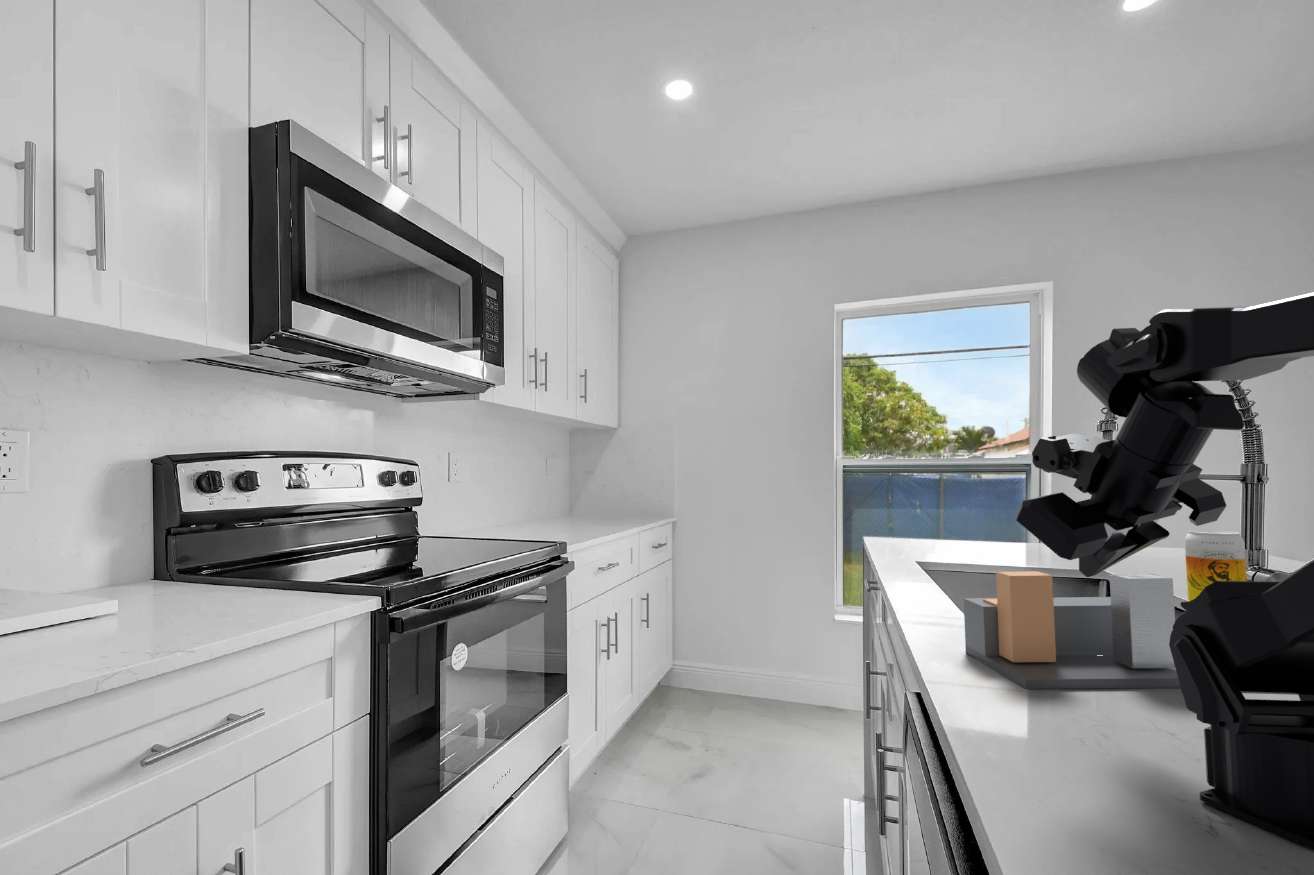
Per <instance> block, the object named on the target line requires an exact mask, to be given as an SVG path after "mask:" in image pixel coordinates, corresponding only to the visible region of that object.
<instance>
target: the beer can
mask: <svg viewBox="0 0 1314 875" xmlns="http://www.w3.org/2000/svg"><path fill="white" fill-rule="evenodd" d="M1245 546H1246V544H1245V540H1244V539H1243V538H1242V536H1241V533H1240V532H1237V531H1229V530H1215V529H1214V530H1213V529H1212V530H1210V529H1191V530H1187V534H1186V535H1185V538H1184V552H1185V553H1184V554H1185V570H1186V571H1185V572H1186V587H1187V589H1186V590H1187V602H1189V601H1191V600H1193V599H1195V598H1196V597H1197V596H1198V595H1199V594H1200V593H1201V592H1202V591H1203V589H1204V588H1205V587H1206V586H1208V585H1210V584H1212V583H1214V582H1215V581H1248V579H1247V578H1248V577H1247V576H1248V575H1247V563H1246V561H1247V560H1246V548H1245Z"/></svg>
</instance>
